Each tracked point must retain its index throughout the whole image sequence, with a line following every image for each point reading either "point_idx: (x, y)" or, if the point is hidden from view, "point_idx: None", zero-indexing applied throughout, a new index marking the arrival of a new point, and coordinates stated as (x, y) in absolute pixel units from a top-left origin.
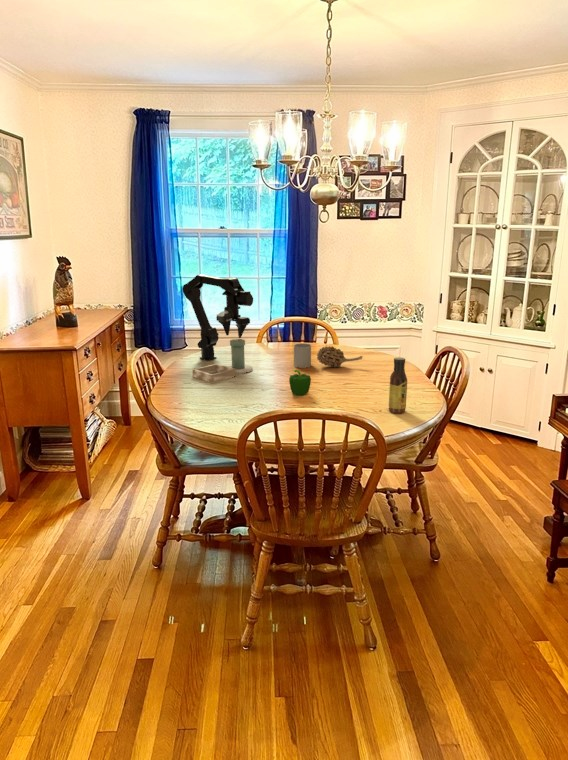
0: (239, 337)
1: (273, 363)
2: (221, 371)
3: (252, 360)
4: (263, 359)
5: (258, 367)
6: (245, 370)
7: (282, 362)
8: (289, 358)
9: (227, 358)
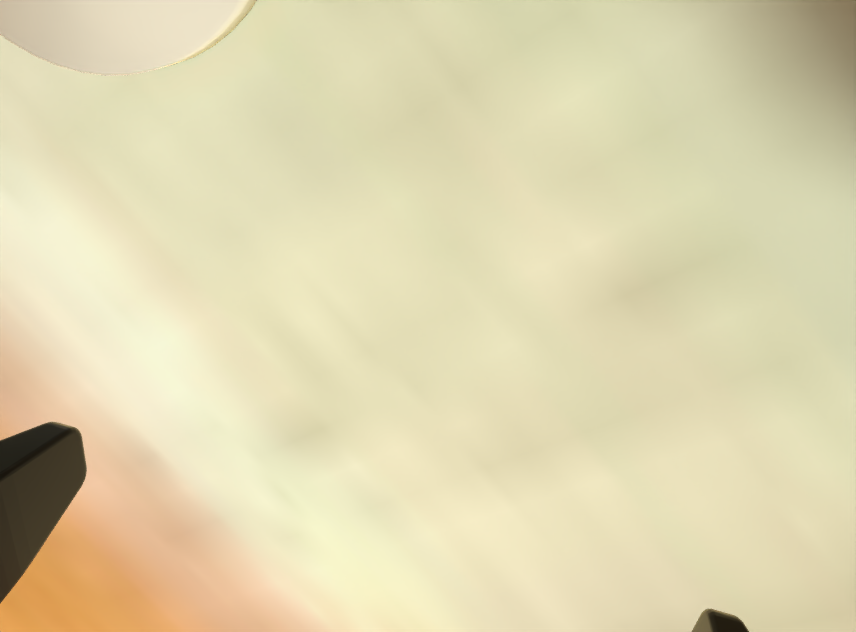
0: (39, 432)
1: (82, 392)
2: None
3: (363, 411)
4: (292, 492)
5: (46, 156)
6: None
7: None
8: (131, 594)
9: (768, 368)
